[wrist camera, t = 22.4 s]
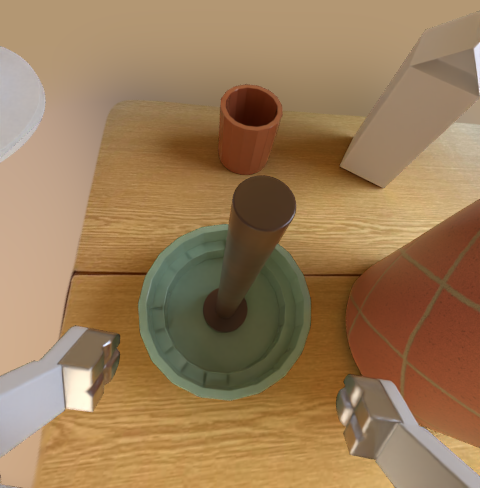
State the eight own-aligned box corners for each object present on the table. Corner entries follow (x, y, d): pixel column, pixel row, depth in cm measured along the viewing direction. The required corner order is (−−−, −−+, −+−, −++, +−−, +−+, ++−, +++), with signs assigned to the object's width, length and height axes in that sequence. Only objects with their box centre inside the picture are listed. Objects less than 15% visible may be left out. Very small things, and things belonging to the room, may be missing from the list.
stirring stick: (195, 321, 28) (159, 230, 7) (215, 282, 30) (229, 123, 9) (235, 340, 28) (311, 302, 7) (252, 300, 30) (353, 177, 9)
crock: (209, 161, 37) (209, 114, 30) (231, 127, 40) (236, 76, 32) (256, 182, 37) (268, 139, 29) (275, 146, 39) (291, 99, 32)
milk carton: (338, 167, 39) (443, 16, 22) (353, 136, 42) (457, -20, 24) (383, 189, 38) (528, 53, 21) (395, 156, 41) (534, 11, 24)
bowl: (122, 348, 27) (100, 347, 22) (194, 226, 33) (192, 201, 28) (261, 418, 26) (275, 435, 21) (309, 279, 32) (331, 264, 27)
